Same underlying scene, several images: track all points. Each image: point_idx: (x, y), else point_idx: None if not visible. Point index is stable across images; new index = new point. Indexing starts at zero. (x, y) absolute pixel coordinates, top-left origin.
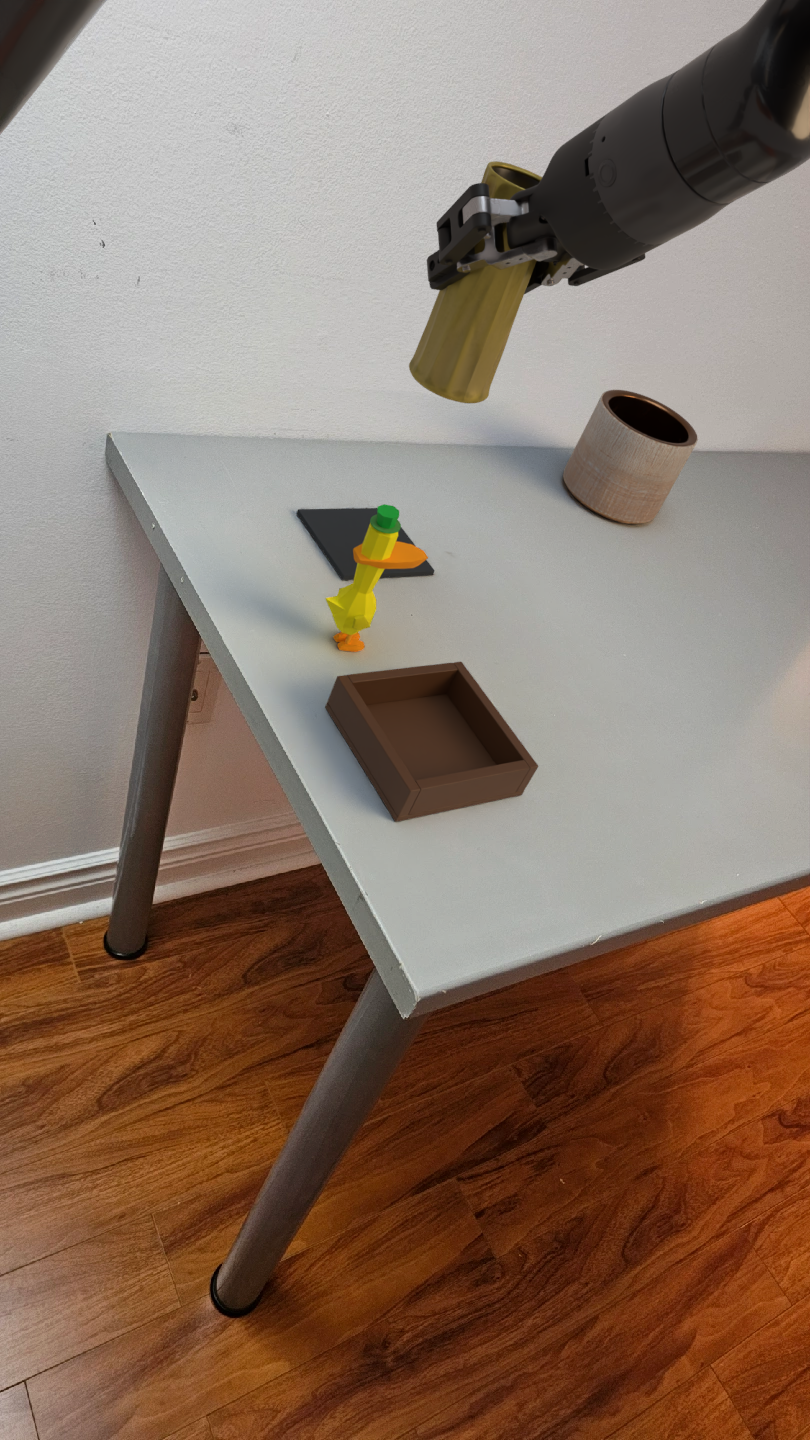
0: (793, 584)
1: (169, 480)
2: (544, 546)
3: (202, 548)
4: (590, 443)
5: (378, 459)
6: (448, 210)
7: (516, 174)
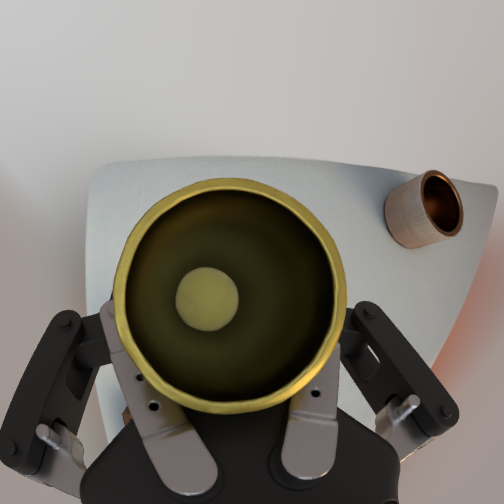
0: (464, 296)
1: (103, 206)
2: None
3: (97, 273)
4: (404, 202)
5: (261, 175)
6: (31, 360)
7: (268, 198)
